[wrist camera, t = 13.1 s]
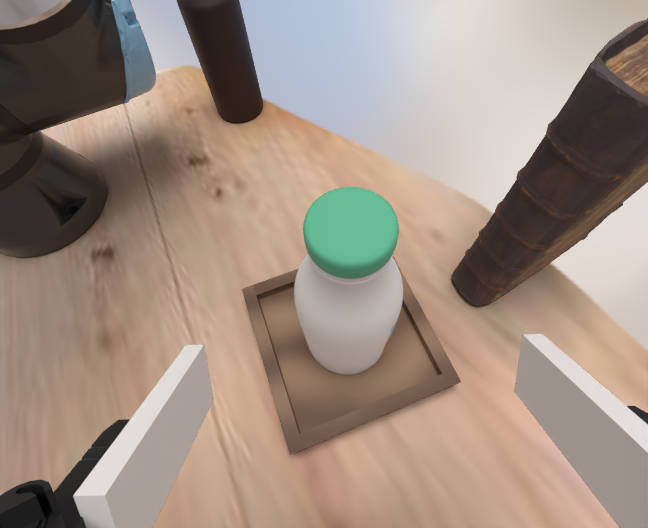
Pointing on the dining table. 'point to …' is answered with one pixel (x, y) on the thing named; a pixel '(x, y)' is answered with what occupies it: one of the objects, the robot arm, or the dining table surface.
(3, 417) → the dining table surface
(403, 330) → the walnut tray
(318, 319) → the milk bottle
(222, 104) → the vinegar
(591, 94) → the book
